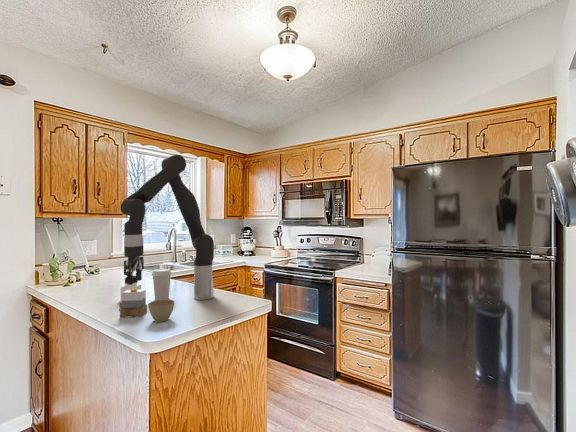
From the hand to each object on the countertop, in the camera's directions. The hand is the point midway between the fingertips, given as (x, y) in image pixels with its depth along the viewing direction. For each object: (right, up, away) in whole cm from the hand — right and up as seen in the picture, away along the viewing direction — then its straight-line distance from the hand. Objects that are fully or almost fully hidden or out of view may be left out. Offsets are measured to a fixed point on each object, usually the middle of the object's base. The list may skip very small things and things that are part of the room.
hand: (134, 282), depth 135 cm
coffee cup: (+2, -14, +25) cm, 29 cm away
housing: (0, -11, 0) cm, 11 cm away
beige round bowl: (+15, -14, -8) cm, 22 cm away
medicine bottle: (-14, -14, +25) cm, 33 cm away
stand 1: (-7, -14, +12) cm, 19 cm away
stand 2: (0, -14, 0) cm, 14 cm away
